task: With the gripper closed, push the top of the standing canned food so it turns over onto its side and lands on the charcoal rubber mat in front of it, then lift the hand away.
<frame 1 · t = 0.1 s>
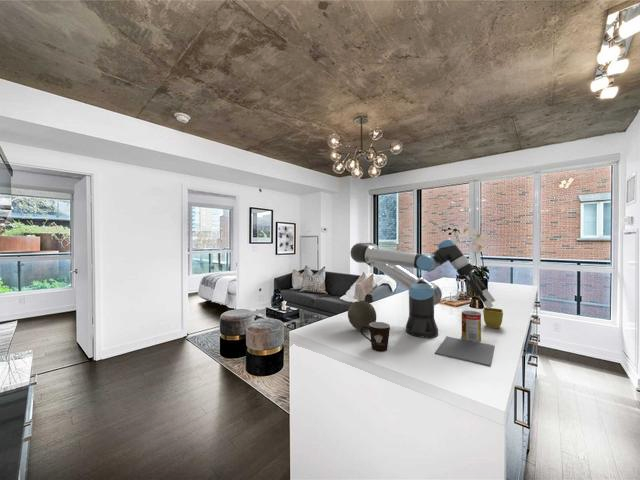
hand: (491, 304, 128), 15 cm above the table, tool tilted 35°, fingers open, 13 cm apart
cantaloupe: (362, 331, 136), on the table
mat: (465, 350, 112), on the table
flower pot: (493, 327, 143), on the table
canned food: (471, 338, 126), on the table
coffee mug: (376, 348, 115), on the table
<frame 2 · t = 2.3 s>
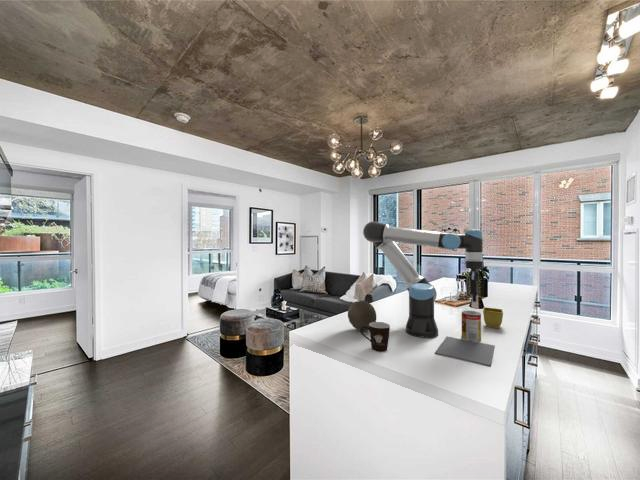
hand: (474, 307, 135), 12 cm above the table, tool pointing down, fingers closed
nothing on the table moved.
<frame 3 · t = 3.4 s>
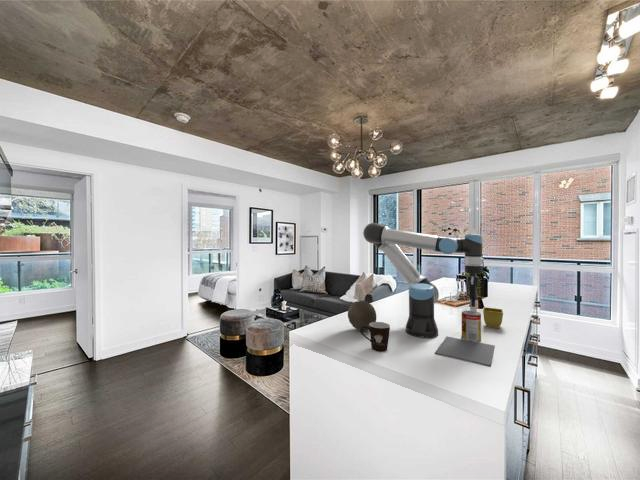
hand: (473, 312, 134), 10 cm above the table, tool pointing down, fingers closed
nothing on the table moved.
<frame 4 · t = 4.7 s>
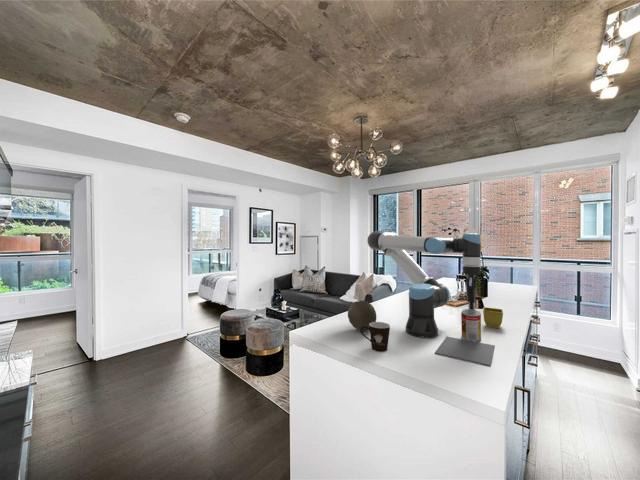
hand: (471, 315, 129), 10 cm above the table, tool pointing down, fingers closed
canned food: (471, 337, 126), on the table, touching gripper
everything else where it was.
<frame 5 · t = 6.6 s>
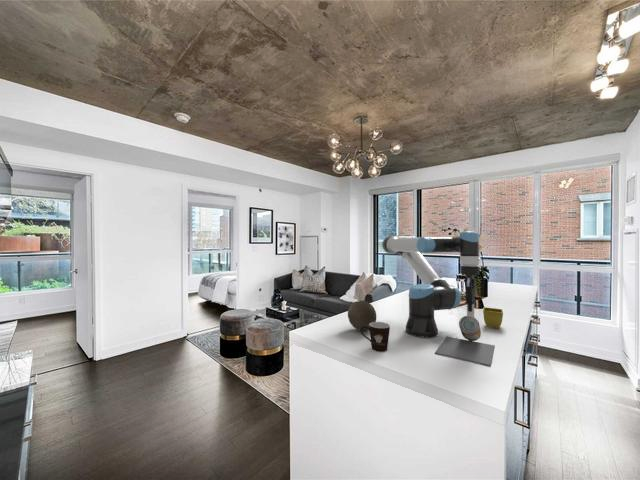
hand: (470, 318, 122), 11 cm above the table, tool pointing down, fingers closed
canned food: (471, 332, 124), point 3 cm above the table, touching gripper
everything else where it was.
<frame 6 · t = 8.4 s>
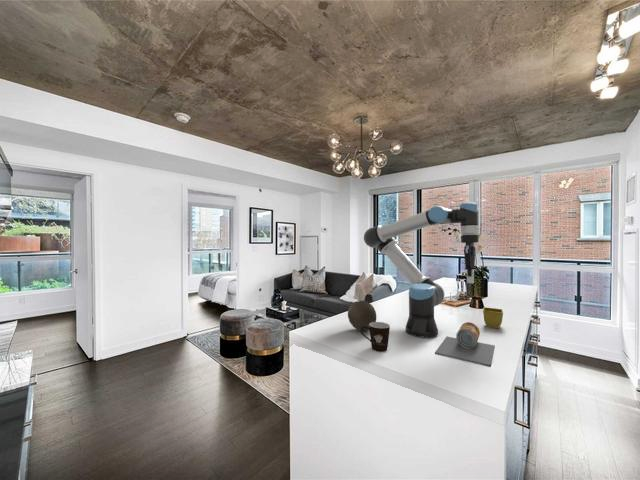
hand: (470, 282, 132), 25 cm above the table, tool pointing down, fingers closed
canned food: (470, 330, 123), point 4 cm above the table, touching mat
everything else where it was.
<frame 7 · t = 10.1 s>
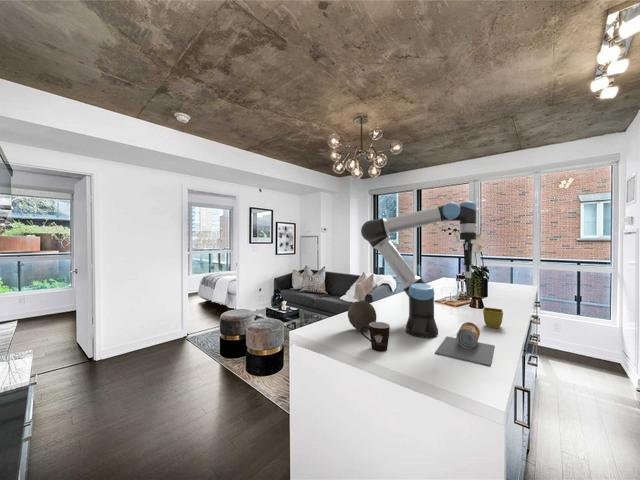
hand: (468, 277, 140), 26 cm above the table, tool pointing down, fingers closed
nothing on the table moved.
at the end: canned food tilted 90°; canned food inside the target area (4.9 cm from its centre), point 4.4 cm above the table; canned food touching mat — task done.
